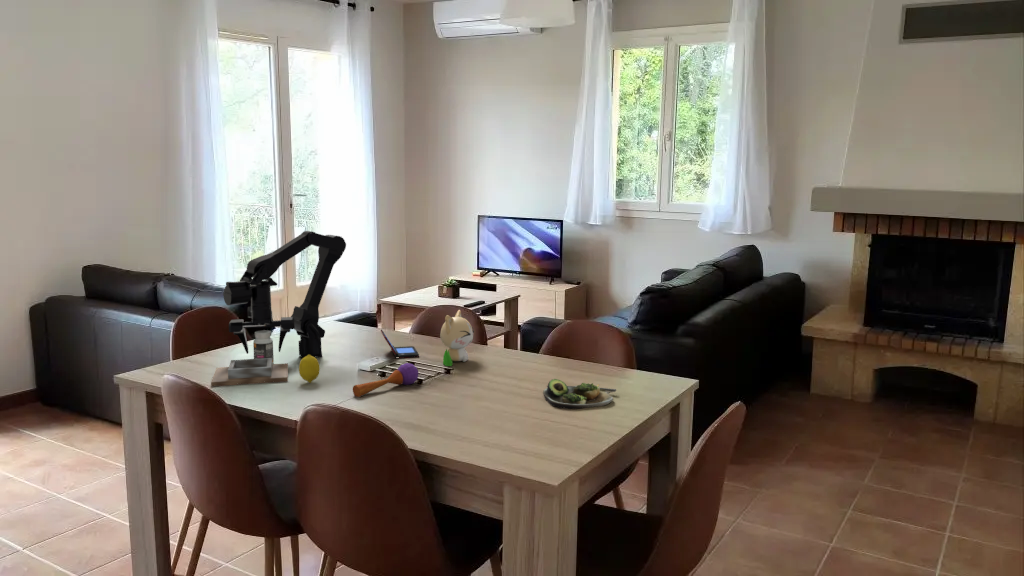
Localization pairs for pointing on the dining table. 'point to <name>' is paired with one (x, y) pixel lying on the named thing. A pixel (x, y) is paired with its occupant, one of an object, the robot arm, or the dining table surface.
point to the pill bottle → (263, 345)
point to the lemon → (309, 368)
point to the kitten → (456, 338)
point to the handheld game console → (402, 350)
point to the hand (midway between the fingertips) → (263, 352)
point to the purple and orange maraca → (390, 380)
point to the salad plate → (576, 395)
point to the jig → (250, 372)
